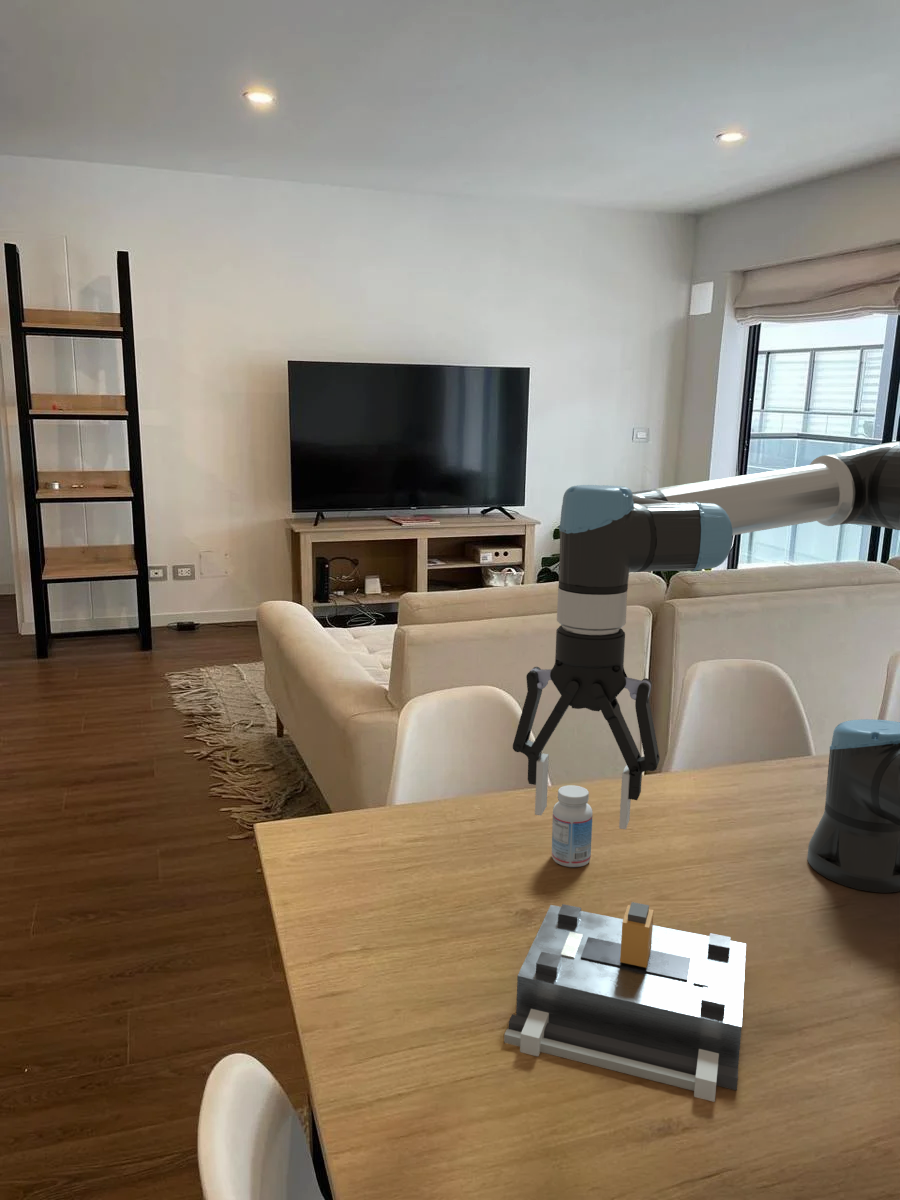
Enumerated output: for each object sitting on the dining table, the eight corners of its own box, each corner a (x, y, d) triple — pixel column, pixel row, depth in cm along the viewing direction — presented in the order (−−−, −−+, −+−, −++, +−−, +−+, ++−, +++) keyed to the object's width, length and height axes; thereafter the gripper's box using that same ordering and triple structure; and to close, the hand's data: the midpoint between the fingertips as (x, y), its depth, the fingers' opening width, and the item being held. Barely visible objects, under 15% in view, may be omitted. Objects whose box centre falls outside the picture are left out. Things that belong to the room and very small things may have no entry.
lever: (651, 948, 104) (654, 903, 103) (646, 967, 100) (649, 921, 99) (625, 943, 105) (628, 898, 104) (620, 962, 101) (622, 916, 100)
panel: (742, 980, 107) (746, 934, 106) (738, 1069, 92) (742, 1016, 91) (549, 939, 115) (551, 896, 114) (516, 1015, 100) (517, 966, 99)
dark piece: (743, 962, 111) (745, 946, 110) (735, 1107, 87) (737, 1087, 87) (556, 924, 118) (556, 909, 118) (502, 1047, 95) (502, 1029, 94)
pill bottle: (589, 851, 139) (592, 784, 137) (591, 870, 133) (595, 800, 131) (550, 848, 140) (553, 782, 138) (551, 867, 134) (553, 798, 132)
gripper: (695, 628, 97) (682, 819, 102) (505, 611, 104) (500, 790, 109) (689, 643, 90) (675, 847, 95) (486, 624, 97) (482, 815, 102)
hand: (581, 817), depth 102 cm, fingers open, 9 cm apart
